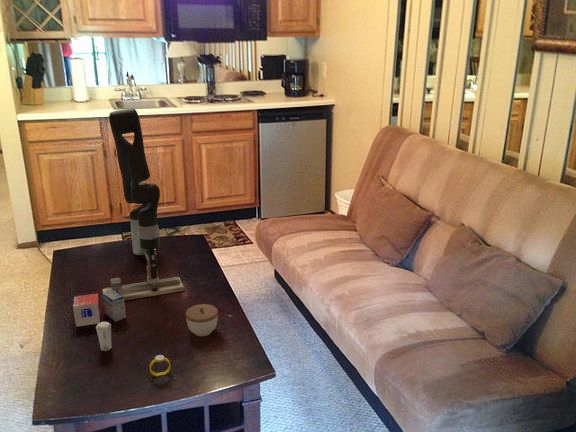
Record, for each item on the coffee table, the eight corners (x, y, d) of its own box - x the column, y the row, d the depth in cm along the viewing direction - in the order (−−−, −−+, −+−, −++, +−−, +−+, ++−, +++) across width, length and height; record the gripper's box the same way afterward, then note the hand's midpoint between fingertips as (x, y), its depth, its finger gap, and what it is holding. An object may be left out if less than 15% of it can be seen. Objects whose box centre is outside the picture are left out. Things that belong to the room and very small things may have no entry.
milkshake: (107, 354, 164) (103, 326, 161) (95, 349, 166) (92, 322, 163) (118, 348, 167) (115, 320, 164) (107, 343, 170) (103, 316, 167)
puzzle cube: (100, 312, 189) (97, 293, 187) (100, 323, 182) (97, 303, 180) (76, 316, 187) (74, 296, 184) (75, 327, 180) (72, 306, 177)
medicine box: (103, 314, 188) (101, 293, 185) (115, 310, 191) (112, 289, 188) (115, 322, 183) (112, 300, 180) (126, 317, 186) (124, 295, 183)
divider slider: (147, 284, 207) (145, 264, 204) (157, 282, 208) (156, 262, 206) (149, 288, 203) (147, 268, 200) (159, 287, 205) (157, 267, 202)
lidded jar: (183, 327, 180) (182, 303, 177) (213, 321, 184) (212, 297, 181) (190, 343, 170) (189, 317, 167) (222, 336, 174) (221, 311, 171)
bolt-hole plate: (103, 292, 204) (101, 277, 202) (179, 280, 215) (178, 265, 213) (104, 303, 195) (102, 288, 193) (184, 290, 206) (183, 275, 204)
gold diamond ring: (170, 370, 156) (170, 353, 155) (171, 376, 154) (171, 358, 152) (149, 373, 154) (149, 355, 153) (150, 378, 152) (150, 361, 150)
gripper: (136, 230, 204) (140, 268, 209) (141, 242, 191) (145, 282, 197) (156, 227, 207) (159, 265, 212) (161, 240, 194) (165, 279, 199)
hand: (152, 273), depth 204 cm, fingers open, 8 cm apart
